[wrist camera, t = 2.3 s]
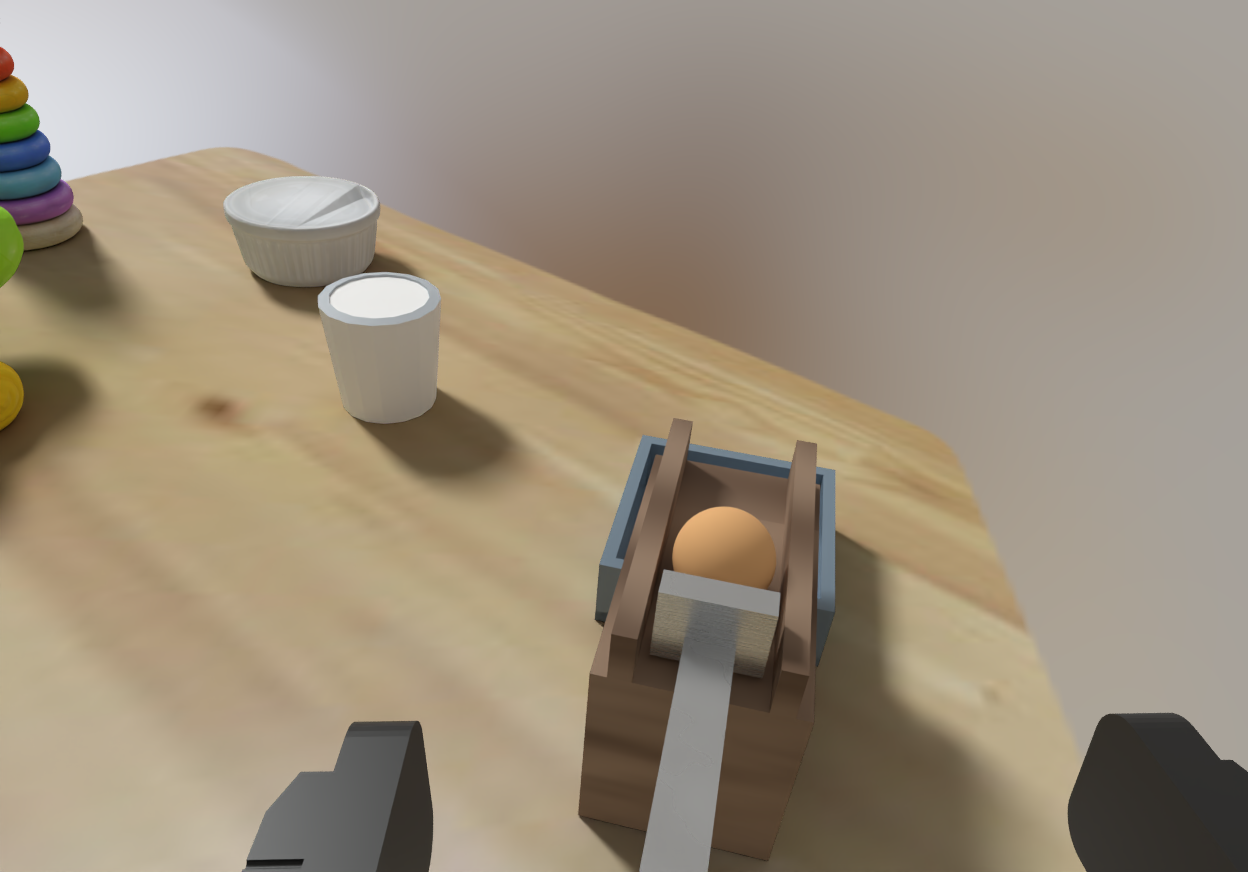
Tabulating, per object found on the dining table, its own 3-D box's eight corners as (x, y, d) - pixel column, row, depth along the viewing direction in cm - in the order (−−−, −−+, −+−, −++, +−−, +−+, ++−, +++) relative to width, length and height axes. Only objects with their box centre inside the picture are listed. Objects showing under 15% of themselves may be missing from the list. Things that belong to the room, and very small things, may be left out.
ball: (727, 650, 28) (744, 573, 26) (646, 593, 29) (656, 517, 27) (785, 595, 30) (805, 520, 28) (706, 546, 32) (720, 472, 30)
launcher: (768, 860, 30) (828, 680, 24) (578, 815, 31) (593, 630, 25) (784, 616, 40) (830, 446, 34) (639, 587, 41) (660, 415, 35)
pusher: (732, 1333, 18) (832, 1201, 13) (469, 1251, 19) (451, 1090, 13) (772, 759, 30) (834, 554, 24) (608, 722, 31) (630, 515, 25)
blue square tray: (817, 666, 38) (834, 612, 36) (594, 619, 39) (599, 564, 37) (821, 521, 46) (835, 470, 44) (637, 486, 47) (642, 435, 45)
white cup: (464, 382, 54) (460, 283, 50) (413, 440, 49) (404, 334, 45) (368, 360, 56) (357, 261, 52) (308, 414, 50) (291, 308, 46)
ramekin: (392, 289, 65) (386, 223, 62) (234, 301, 61) (219, 231, 58) (377, 233, 73) (372, 172, 70) (238, 240, 70) (225, 177, 67)
